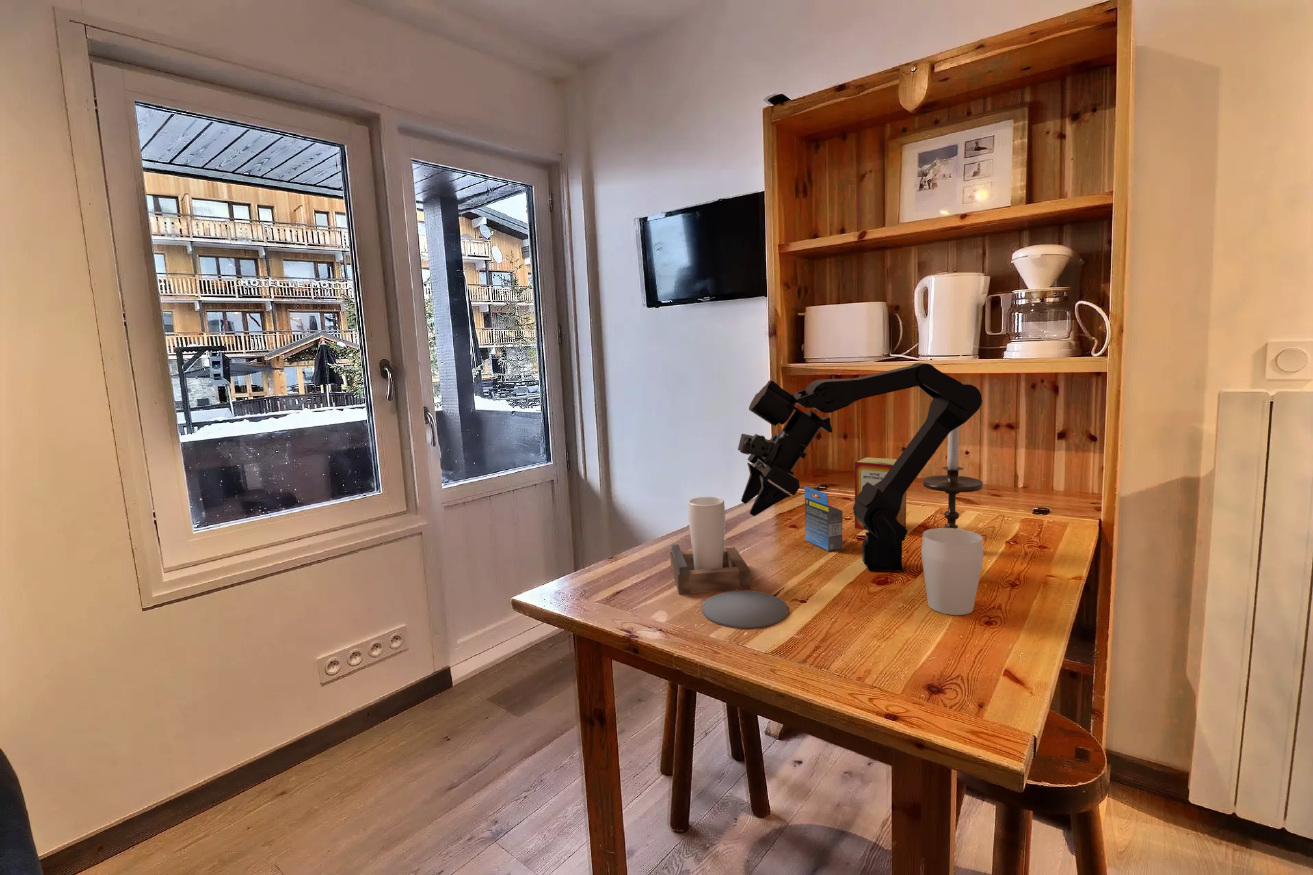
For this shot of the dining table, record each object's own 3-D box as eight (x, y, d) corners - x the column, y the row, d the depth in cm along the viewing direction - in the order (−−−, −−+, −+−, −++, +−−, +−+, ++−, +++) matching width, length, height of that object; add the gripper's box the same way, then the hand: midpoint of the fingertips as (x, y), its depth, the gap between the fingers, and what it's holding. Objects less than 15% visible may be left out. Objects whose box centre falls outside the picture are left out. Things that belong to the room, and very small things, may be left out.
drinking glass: (702, 587, 117) (700, 507, 115) (684, 576, 123) (681, 500, 121) (733, 580, 120) (731, 501, 118) (714, 569, 126) (712, 494, 124)
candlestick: (993, 554, 128) (999, 377, 122) (947, 562, 125) (952, 381, 119) (953, 539, 138) (957, 375, 133) (910, 545, 135) (913, 378, 130)
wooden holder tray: (735, 564, 128) (734, 540, 128) (750, 588, 115) (750, 562, 115) (670, 568, 127) (669, 544, 127) (678, 593, 114) (677, 567, 114)
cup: (978, 623, 98) (980, 547, 96) (915, 612, 103) (916, 540, 101) (984, 602, 106) (986, 531, 104) (925, 592, 110) (926, 525, 109)
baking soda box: (854, 528, 149) (855, 460, 147) (865, 521, 154) (865, 455, 152) (896, 534, 143) (897, 463, 141) (905, 527, 148) (906, 458, 146)
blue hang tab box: (843, 549, 135) (843, 491, 133) (827, 552, 133) (827, 494, 132) (819, 537, 143) (818, 483, 141) (804, 540, 142) (803, 485, 140)
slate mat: (785, 594, 112) (785, 591, 112) (789, 629, 99) (789, 626, 99) (705, 592, 115) (705, 589, 114) (698, 626, 101) (698, 623, 101)
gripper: (749, 411, 128) (706, 476, 130) (769, 422, 110) (718, 497, 111) (794, 441, 129) (751, 504, 131) (821, 456, 111) (771, 531, 112)
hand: (747, 508), depth 121 cm, fingers open, 9 cm apart
